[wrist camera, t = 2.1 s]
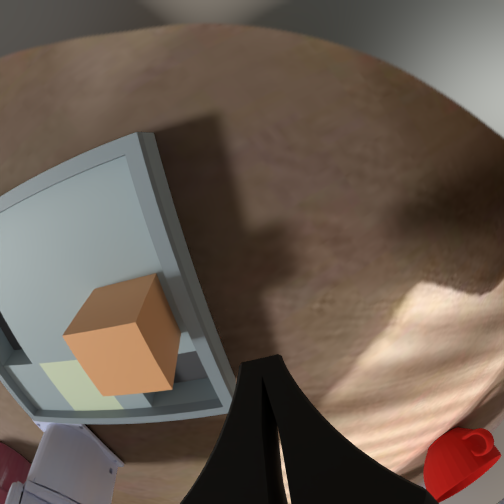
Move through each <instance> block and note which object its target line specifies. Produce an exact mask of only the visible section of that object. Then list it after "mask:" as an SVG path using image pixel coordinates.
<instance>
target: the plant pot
mask: <svg viewBox="0 0 504 504" xmlns="http://www.w3.org/2000/svg"><path fill="white" fill-rule="evenodd" d="M30 468H31V464H30V463H29V462H28V461H27V460H26V459H25V458H24V457H23V456H21V455H20V454H19V453H17V452H16V451H15V450H13V449H12V448H10V447H8V446H7V445H5V444H3V443H1V442H0V504H5V501H6V498H7V495H8V492H9V489H10V487H11V484H12V483H14V482H16V483H17V481H19V482H21V483H22V484H24V483H25V482H26V479H27V476H28V473H29V471H30Z"/></svg>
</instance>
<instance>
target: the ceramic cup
mask: <svg viewBox="0 0 504 504" xmlns="http://www.w3.org/2000/svg"><path fill="white" fill-rule="evenodd" d="M500 457H501V454H500V452H499V451H498V450H497V448H496V447H495V446H494V439H493V436H492V434H491V433H490V432H489V431H488V430H486V429H482V428H479V429H475V430H473V429H467V428H460V427H457V428H454V429H452V430H450V431H448V432H447V433H445V434H444V435H442V436H441V437H440V438H438V439H437V440H436V441H435V442H434V443H433V444H432V445H431V446H430V447H429V449H428V453H427V456H426V459H425V464H424V482H425V486H426V490H427V491H428V492H429V493H430V494H431V495H432V496H433V497H434V498H435V499H436V501H437V502H438V503H439V502H441V501H443V500H445V499H447V498H449V497H451V496H453V495H454V494H456V493H458V492H459V491H461V490H463V489H464V488H466V487H467V486H468V485H470V484H471V483H473V482H474V481H475V480H477V479H478V478H479V477H480V476H482V475H483V474H484V473H485V472H486V471H488V470H489V469H490V468H491V467H492V466H493V465H494V464H495V463H496V462H497V461H498V459H499V458H500Z"/></svg>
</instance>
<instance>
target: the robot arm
mask: <svg viewBox="0 0 504 504" xmlns="http://www.w3.org/2000/svg"><path fill="white" fill-rule="evenodd" d="M33 421H34V420H33ZM34 423H35V424H36V425H37V426H38V427H39V428H40V429H41V430H42V431H43V432H44V434H43V436H42V439H41V441H40V444H39V446H38V449H37V451H36V454H35V457H34V459H33V462H32V465H31V468H30V471H29V473H28V476H27V479H26V482H25V483H24V484H22V483H21V482H19V481H17V483H16V482H14V483H12V484H11V487H10V489H9V492H8V495H7V498H6V501H5V504H111V502H112V496H113V490H114V484H115V479H116V474H117V469H118V467H123V466H124V463H123V462H122V461H121V460H120V459H119V458H118V457H117V456H116V455H115V454H113V453H112V452H111V451H110V450H109V449H108V448H107V447H106V446H105V445H104V444H103V443H102V442H101V441H100V440H99V439H98V438H97V437H96V436H95V435H94V434H93V433H92V432H91V431H90V430H89V428H88V427H87V426H86V425H85V424H67V423H51V422H39V421H34ZM277 426H278V428H277ZM278 430H279V434H280V439H281V445H282V451H283V456H284V462H285V468H286V474H287V480H288V486H289V492H290V498H291V504H439V503H438V502H437V501H436V499H435V498H434V497H433V496H432V495H431V494H430V493H429V492H428V491H427V490H426V489H425V488H423V487H421V486H419V485H416V484H414V483H412V482H410V481H408V480H406V479H405V478H403V477H401V476H399V475H397V474H396V473H394V472H392V471H391V470H389V469H387V468H386V467H384V466H382V465H381V464H379V463H378V462H377V461H375V460H374V459H372V458H371V457H369V456H368V455H367V454H365V453H364V452H362V451H361V450H360V449H358V448H357V447H356V446H355V445H353V444H352V443H351V442H350V441H349V440H347V439H346V438H345V437H344V436H343V435H342V434H341V433H340V432H338V431H337V430H336V429H335V428H334V427H333V426H332V425H331V424H330V423H329V422H328V421H327V420H326V419H325V418H324V417H323V416H322V415H321V413H320V412H319V411H318V410H317V409H316V408H315V407H314V406H313V404H312V403H311V402H310V401H309V400H308V398H307V397H306V396H305V394H304V393H303V392H302V390H301V389H300V388H299V386H298V385H297V384H296V382H295V381H294V379H293V377H292V376H291V374H290V373H289V371H288V369H287V367H286V365H285V363H284V361H283V358H282V356H281V355H278V354H277V355H273V356H269V357H265V358H260V359H256V360H252V361H247V362H243V363H241V364H240V366H239V373H238V378H237V383H236V387H235V391H234V395H233V398H232V402H231V405H230V408H229V411H228V415H227V417H226V420H225V423H224V425H223V428H222V430H221V433H220V436H219V438H218V440H217V443H216V445H215V447H214V449H213V451H212V453H211V455H210V457H209V459H208V461H207V463H206V465H205V466H204V468H203V470H202V472H201V473H200V475H199V477H198V478H197V480H196V482H195V483H194V485H193V486H192V488H191V489H190V491H189V492H188V493H187V495H186V496H185V497H184V499H183V500H182V501H181V503H180V504H288V503H287V498H286V493H285V489H284V484H283V477H282V469H281V459H280V448H279V438H278ZM497 504H504V498H503V499H502V500H501V501H499V502H498V503H497Z"/></svg>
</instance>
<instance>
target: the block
mask: <svg viewBox="0 0 504 504" xmlns="http://www.w3.org/2000/svg"><path fill="white" fill-rule="evenodd" d="M62 337H63V338H64V340H65V341H66V343H67V345H68V346H69V348H70V350H71V351H72V353H73V354H74V356H75V357H76V359H77V360H78V362H79V363H80V365H81V366H82V368H83V369H84V371H85V372H86V374H87V375H88V377H89V378H90V379H91V381H92V382H93V384H94V385H95V386H96V388H97V389H98V390H99V392H100V393H101V394H102V396H116V395H128V394H139V393H148V392H157V391H165V390H173V383H174V376H175V369H176V363H177V356H178V350H179V344H180V338H181V331H180V329H179V327H178V324H177V322H176V320H175V318H174V315H173V313H172V311H171V308H170V306H169V303H168V301H167V299H166V296H165V294H164V291H163V289H162V286H161V284H160V281H159V279H158V276H157V274H156V273H154V274H151V275H147V276H143V277H139V278H135V279H131V280H127V281H123V282H119V283H115V284H111V285H107V286H103V287H99V288H95V289H94V290H93V291H92V293H91V294H90V296H89V297H88V298H87V300H86V301H85V303H84V304H83V305H82V307H81V308H80V310H79V311H78V313H77V314H76V316H75V317H74V319H73V320H72V322H71V323H70V325H69V326H68V328H67V329H66V331H65V332H64V334H63V335H62Z"/></svg>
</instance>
